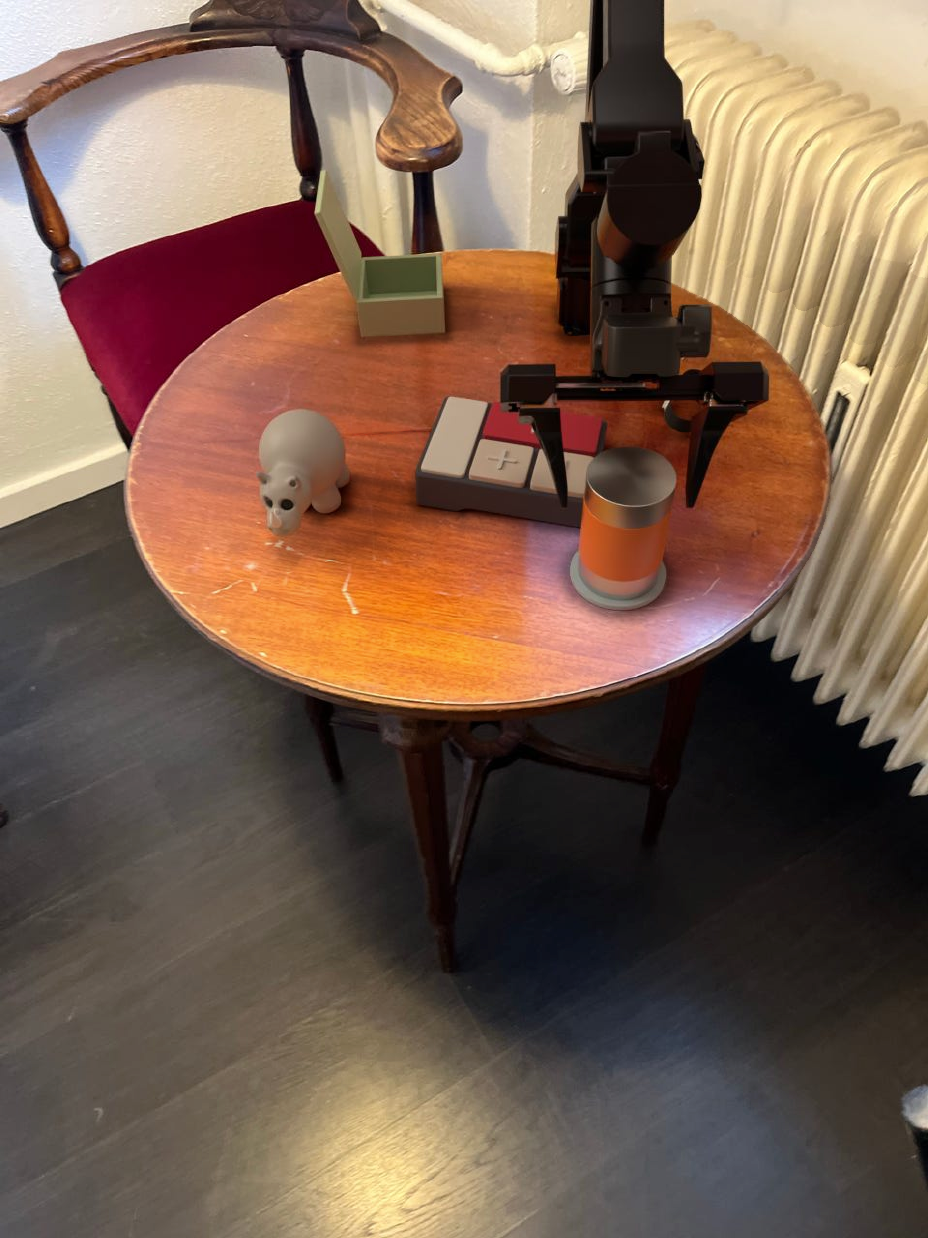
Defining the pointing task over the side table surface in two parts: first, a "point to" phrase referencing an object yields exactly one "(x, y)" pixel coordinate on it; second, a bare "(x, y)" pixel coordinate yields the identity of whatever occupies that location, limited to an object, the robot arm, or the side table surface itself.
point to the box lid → (338, 233)
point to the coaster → (612, 603)
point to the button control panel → (503, 463)
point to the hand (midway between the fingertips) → (626, 508)
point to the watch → (671, 417)
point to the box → (401, 295)
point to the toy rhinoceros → (300, 468)
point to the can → (625, 521)
